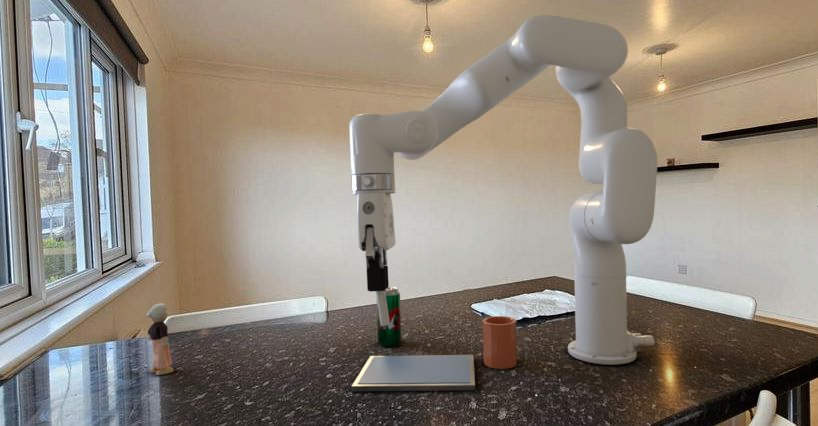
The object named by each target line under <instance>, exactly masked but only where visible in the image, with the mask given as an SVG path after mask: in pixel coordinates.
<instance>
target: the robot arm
mask: <svg viewBox="0 0 818 426" xmlns="http://www.w3.org/2000/svg"><path fill="white" fill-rule="evenodd" d="M628 53H629V46H628V42H627V40H626V38H625V36H624V35H623V34H622V33H621V32H620V31H619V30H618V29H617V28H615V27H613V26H611V25H609V24H604V23H599V22H594V21H587V20H583V19H577V18H573V17H566V16H561V15H559V16H558V15H551V14H549V15H548V14H540V15H534V16H532V17H529V18H527V19H526V20H525V21H523V23H522V24H521V25H520V27H519V28H518V29H517V30H516V31H515V33H514V34H513V35H512V36H511V37H510V38H508V39H507V40H506V41H505V42H503V43H502V44H500V45H498V46H497V47H495V49H493V50H492V51H490V52H489V53H487V54H486V55H485V56H484V57H482V58H481V59H479V60H478V61H476V62H475V63H473V64H472V65H470V66H469V67H467V68H466V69H464V70H463V71H462V72H461V73H460V74H459V75H458V76H457V77H456V78H455V79H453V81H452V82H451V83H450V85H449V86H448V87H447V88H446V89H445V90H444V91H443V92H442V93H441V94H440V95H439V96H438V97H437V98H436V99H434V101H433V102H431V103H430V104H429V105H426V107H424V108H423V109H422V110H409V111H402V112H395V113H389V114H383V113H382V114H381V113H372V112H371V113H360V114H356V115H354V116H353V117H351V119H349V120H350V121H349V123H348V124H349V125H348V128H349V129H348V133H349V150H350V151H349V152H350V153H349V154H350V173H351V195H352V196H357V201H356V202H357V204H356V209H357V241H358V248H359V250H360V251H362V252H365V263H366V264H365V265H366V285H367V287H366V289H367V292H376V291H385V290H386V288H388V287H390V285H389V284H390V283H389V266H388V250H390V249H392V248H394V246H395V245H396V242H397V241H396V232H395V231H396V230H395V220H394V218H395V217H394V207H393V202H392V201H393V200H392V195H393V194H396V176H395V153H397V155H399V156H400V157H401V158H403V159H404V160H405V159H406V160H410V161H414V160H419V159H421V158H423V157H425V156H426V155H427V154H428V153H431V151H433V150H434V149H436V148H437V147H438V146H440V145H441V144H442V143H444V142H445V141H447V140H448V139H450V138H451V137H452V136H453V135H455V134H456V133H457V132H459V131H460V130H462V129H464V128H465V127H466V126H468V125H470V124H471V123H473V122H475V121H476V120H479V119H480V118H481V117H483V116H484V115H485V114H487V113H488V112H490V111H491V110H492V109H494V108H495V107H496V106H498V105H499V104H500V103H502V102H503V101H505V100H506V99H507V98H509V97H510V96H511V95H513V94H514V93H515V92H517V91H519V90H520V89H521V88H523V87H524V86H526V85H527V84H528V83H529V82H531V81H532V80H534V79H535V78H537V76H539V75H540V74H541V73H543V72H544V71H545V70H547V68H549V67H550V66H554V67H555V76H556V79H557V81H558V83H559V85H560V86H561V87H562V88H563V89H564V90H565V91H566V92H568V93H569V94H570V95H571V96H572V97H573V99H574V101H576V103H577V105H578V108H579V111H580V136H579V137H580V138H579V154H578V170H579V173H580V175H581V177H582V178H583V179H584V181H586V182H588V183H589V184H593V185H603V187H602V190H599V191H591V192H588V193H585V194H583V195H580V197H578V198H577V199H576V200H575V201H574V202H573V204H572V205H571V208H570V210H569V215H568V226H569V232H570V237H571V241H572V247H573V248H572V250H573V266H574V270H573V272H574V275H573V277H574V316H575V318H574V319H575V321H574V322H575V340H572V341H571V342H569V343H568V345H567V352H568V354H569V355H570V356H571V357H573V358H575V359H576V360H578V361H582V362H585V363H590V364H595V365H596V364H597V365H605V366H607V365H609V366H612V365H614V366H618V365H624V364H625V365H626V364H629V363H632V362H634V361H635V360H636V359H637V357H638V355H637V354H638V353H637V352H638V351H637V349H636V348H638V346H643V347H653V346H654V345H655V338H654V336H653V335H649V334H648V335H642V334H641V333H640V332H634V333H632V332H631V331H629V329H628V305H627V304H628V301H627V300H628V299H627V298H628V297H627V262H626V255H625V251H624V247H623V245H632V244H635V243H638V242H639V241H641V240H642V239H644V238H645V237H646V236H647V234H649V231H650V229H651V228H652V225H653V221H654V215H655V208H656V207H655V205H656V191H657V175H658V155H657V150H656V147H655V144H654V142H653V141H652V139H651V137H649V135H648V134H647V133H646V132H645V131H642V130H641V129H638V128H634V127H628V104H627V99H626V97H625V95H624V93H623V91H622V90H621V88H620V87H619V86H618V85H617V83H615V81H614V80H613V79H612V78H611V77H612V76H613V75H614V74H616V73H617V72H619V70H620V69H621V68H622V67H623V66H624V65H625V62H626V60H627V58H628ZM391 194H392V195H391Z"/></svg>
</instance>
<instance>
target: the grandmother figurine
mask: <svg viewBox="0 0 818 426" xmlns="http://www.w3.org/2000/svg"><path fill="white" fill-rule="evenodd" d="M167 310H168V307H167V304H165V303H157V304H156V303H155V304H154V305H153V306H151V308H149V310H148V312H147V313H146V315H145V317H146V318H150V319H151V321H152V324H151V325H150V326H149V328H148V330H147V340H148V341H151V343H152V352H153V357H152V367H153V368H151V370H150V371H149V372H150V373H152V374H154V373H155V376H161V375H168V374H170V373H173V372H174V370H175V369H174V368H173V367H172V365H173V360H172V356H171V351H170V346H169V345H170V344H169V328H168V327H169V326H168V325H167V324H166V323H165V321H166V320H167V319H168V316H169V315H168V312H167Z"/></svg>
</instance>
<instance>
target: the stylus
mask: <svg viewBox="0 0 818 426" xmlns="http://www.w3.org/2000/svg"><path fill="white" fill-rule="evenodd" d="M375 297H376V304H377V303H378V310H379V316H380V323H381V326H386V325H389V324H390V321H389V315H388V308H387V301H386V295H385V291H375Z"/></svg>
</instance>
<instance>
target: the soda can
mask: <svg viewBox="0 0 818 426" xmlns="http://www.w3.org/2000/svg"><path fill="white" fill-rule="evenodd" d="M385 295H386V301H387V308H388V315H389V321H390V324H389V325H386V326H381V323H380V316H379V310H378V303H377V302H376V327H377V343H378V345H379V346H380V347H383V348H384V347H385V348H392V347H397V346H398V345H399V344H401V342H402V322H401V321H402V315H401V292H400V290H399V288H398V287H395V286H388V288H386V290H385Z"/></svg>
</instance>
